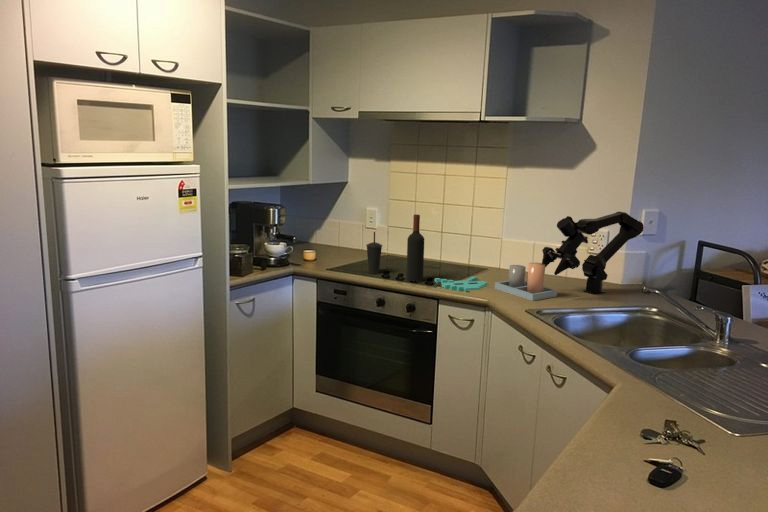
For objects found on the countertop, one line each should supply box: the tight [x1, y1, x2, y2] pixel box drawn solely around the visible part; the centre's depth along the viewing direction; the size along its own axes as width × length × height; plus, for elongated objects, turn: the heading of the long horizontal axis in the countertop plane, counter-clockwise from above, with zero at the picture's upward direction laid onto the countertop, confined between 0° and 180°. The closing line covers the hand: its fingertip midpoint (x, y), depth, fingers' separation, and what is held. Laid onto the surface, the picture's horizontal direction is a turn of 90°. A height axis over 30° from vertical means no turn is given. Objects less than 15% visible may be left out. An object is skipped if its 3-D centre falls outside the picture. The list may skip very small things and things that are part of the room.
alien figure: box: [434, 276, 489, 293], centre depth 261 cm, size 20×2×20 cm
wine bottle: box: [405, 214, 425, 283], centre depth 267 cm, size 8×8×30 cm
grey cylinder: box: [508, 264, 526, 288], centre depth 252 cm, size 7×7×10 cm
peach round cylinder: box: [527, 262, 546, 294], centre depth 243 cm, size 7×7×13 cm
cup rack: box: [494, 280, 558, 301], centre depth 249 cm, size 14×22×4 cm, turn 32°
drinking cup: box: [366, 231, 383, 275], centre depth 280 cm, size 8×8×20 cm
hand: (547, 272), depth 245 cm, fingers open, 9 cm apart
